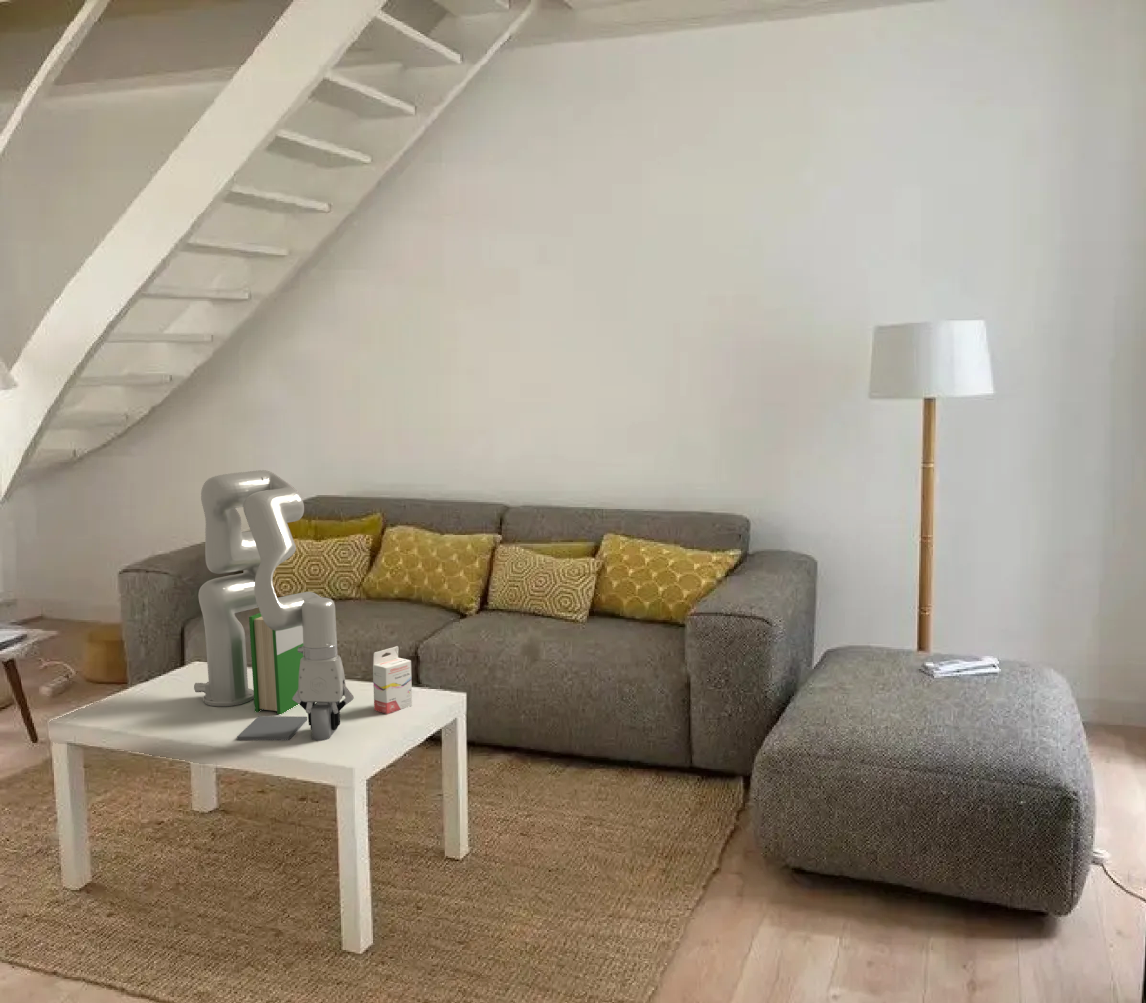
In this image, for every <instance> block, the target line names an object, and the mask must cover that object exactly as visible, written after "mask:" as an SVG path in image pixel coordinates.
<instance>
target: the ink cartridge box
mask: <svg viewBox="0 0 1146 1003" xmlns="http://www.w3.org/2000/svg"><path fill="white" fill-rule="evenodd" d="M386 653H387V654H388V655H386ZM384 655H385V656H384ZM372 661H373V663H372V678H373V679H372V684H373V685H372V686H373V704H374V706H373V708H374V711H376V712H378V713H383V714H385V715H388V714H391V713H394V712H397V711H400V710H404V709H406V707H407V708H409V707H408V706H410V707H412V706H413V694H412V693H413V691H412V690H413V689H412V685H413V684H412V660H411V659H408V658H407V659H406V658H401V657H399V646H398V645H396V646H394V647H390V648H386V649H383V650H379V651H375V652H373V660H372ZM411 705H412V706H411Z"/></svg>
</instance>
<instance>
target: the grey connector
mask: <svg viewBox="0 0 1146 1003" xmlns="http://www.w3.org/2000/svg"><path fill="white" fill-rule="evenodd" d="M332 713H333V709H332V706H331V702H315V705H314V706H313V707H312V708H311V725H312V730H311V738H312V739H311V740H313V741H317V742H321V741H327V740H328V739H331V737H332V735H333V734H334V733H335V732H336V730H337V729H336V730H332V724H331V714H332Z"/></svg>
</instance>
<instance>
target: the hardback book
mask: <svg viewBox="0 0 1146 1003" xmlns="http://www.w3.org/2000/svg"><path fill="white" fill-rule="evenodd" d="M248 622H249V640H250V654H251V656H250V657H251V671H252V687H253V689H252V690H253V691H254V698H253V703H254V712H255V711H256V712H255V713H259V711H260V710H262V709H264V710H266V711H274V712H276V713H277V714H281V715H283V714H284V712H285V713H287V712H288V711H287V710H289V709H290V710H292V709H293V707H294V706H296V705H298V703H297V702H295V701H294V700H293V699H292V698H293V696H294V695H295V693H296V692H297V690H298V682H299V667H300V660H301V658H303V653H298V647H302V646H303V627H302V626H298V627H293V628H289V629H285V630H280V631H275V630H272V629H270V628H269V627H268V626H267V625H266V623H265V622H264V620H263V618H262V616H261V613H260V612H258V613H256V614H253V615H251V616H249V617H248ZM298 706H299V705H298ZM296 707H297V706H296ZM291 708H292V709H291ZM294 708H295V707H294ZM264 710H262V711H264ZM290 710H289V711H290ZM286 711H287V712H286ZM260 712H261V711H260ZM282 713H283V714H282Z"/></svg>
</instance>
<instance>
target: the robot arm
mask: <svg viewBox="0 0 1146 1003" xmlns="http://www.w3.org/2000/svg"><path fill="white" fill-rule="evenodd" d="M200 495H201V496H200V499H201V500H200V501H201V504H202V505H201V506H202V509H203V513H204V518H205V532H204V533H205V544H204V545H205V547H204V548H205V552H204V553H205V555H204V556H205V557H204V558H205V564H206V567H207V569H208V570H209V571H210V572H211V573H213V574H216V575H217V574H218V575H220V574H223V575H225V574H230V573H236V572H240V571H243V573H237V574H230V575H226V576H221V577H215V578H212V579H209V580H206V582H204V583H203V584H202V585H201V586H200V588H199V590H198V595H197V596H198V602H199V607H200V610H201V614H202V618H203V625H204V626H203V627H204V633H205V634H204V636H205V646H206V647H205V648H206V663H207V664H206V665H207V676H208V678H207V679H208V681H207V682H206V683H205V682H195V683H194V684H193V685H194V686H193V689H194V692H195V693H204V696H203V703H204V704H205V705H207V706H212V707H231V706H238V705H242V704H245V703H249V702H250V701H252V700H254V690H253V689H252V688H249V683H248V682H249V680H248V679H249V678H248V664H247V651H246V649H247V648H246V633H245V632H246V631H245V629H244V626H243V625H242V623H241V622H240V621H239V620H238V618H237V616H236V614H237V613H240V612H245V611H249V610H253V609H258V610H259V613H261V616H262V618H263V620H264V622H265V623H266V625H267V626H268V627H269V628H270V629H272V630H275V631H280V630H285V629H289V628H293V627H298V626H302V627H303V646H302V647H298V653H303V658H301V660H300V667H299V682H298V690H297V692H296V693H295V695H294V696H293V698H292V699H293V700H294V701H295V702H297V703H298V704H299V706H300V707H301V708H303V710H304V711H305V713H307V722H308V726H310V731H312V725H311V708H312V707H313V706H314V705H315V703H316V702H331V706H332V709H333V713H332V714H331V724H332V730H338V727H339V726H340V725H341V714H340V713H341V710H342V709H343V708H344V707H345V706H346V705H348V704H349V703H351V702H352V701H353V700H354V699H355V698H354V695H353V693H352V692H351V691H350V690H349V688H348V687H347V686H346V677H345V670H344V666H343V665H344V664H343V661H342V658H341V656H340V655H338V640H337V636H338V635H337V622H336V620H337V618H336V604H335V601H334V600H333V599H332V598H330V597H322V596H320V595H319V594H317V593H316V592H313V591H304V592H299V593H296V594H295V593H293V594H288V595H285V596H280V597H277V594H276V591H275V587H274V582H273V577H274V573H275V571H276V569H277V567H278V566H279V565H280V564H282V563H284V562H285V561H287V560H288V559H289V558H291V557H292V556H293V555H294V554H295V552H296V550H297V549H296V548H297V546H296V543H295V541H294V538H293V535H292V532H291V529H290V528H289V524H288V523H292V522H298V521H300V519H302V517H303V516H304V513H305V504H304V500H303V498H302V496H301V494H300V493H299V491H298V490H297V489H296V488H294V487H293V486H292V485H291V484H290V483H288V482H287V481H286V480H285V479H283V478H281V477H280V476H278V475H277V474H276V473H274V472H272V471H269V470H264V469H262V470H261V469H260V470H251V471H243V472H242V471H241V472H231V473H224V474H218V475H214V476H212V477H209V478H208V479H207V480H205V481H204V483H203V485H202V488H201V491H200ZM237 508H238V509H239V508H243V513H244V516H245V518H246V521H247V524H248V527H249V530H250V531H242V517H241V515H240V513H239V511H238V510H237ZM343 697H345V698H344V699H343Z"/></svg>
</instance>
